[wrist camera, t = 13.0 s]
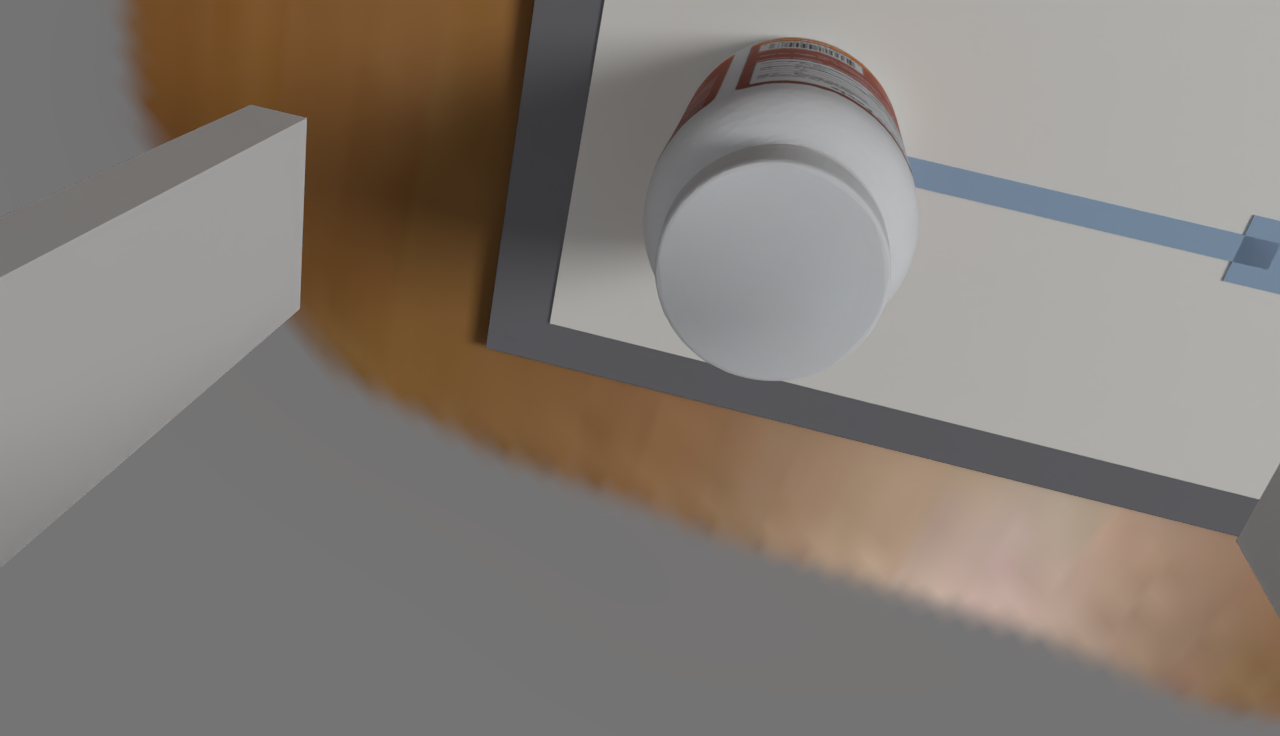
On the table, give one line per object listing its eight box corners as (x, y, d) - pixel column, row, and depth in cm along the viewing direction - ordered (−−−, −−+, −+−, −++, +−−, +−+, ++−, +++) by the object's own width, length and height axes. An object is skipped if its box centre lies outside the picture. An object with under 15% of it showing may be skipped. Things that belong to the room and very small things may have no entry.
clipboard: (577, -266, 28) (565, -272, 27) (1759, -14, 26) (1805, -8, 25) (491, 340, 36) (478, 357, 35) (1386, 564, 34) (1407, 591, 33)
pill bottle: (738, 276, 33) (698, 457, 23) (646, 94, 31) (558, 206, 21) (932, 193, 31) (980, 352, 21) (847, -9, 29) (854, 63, 19)
